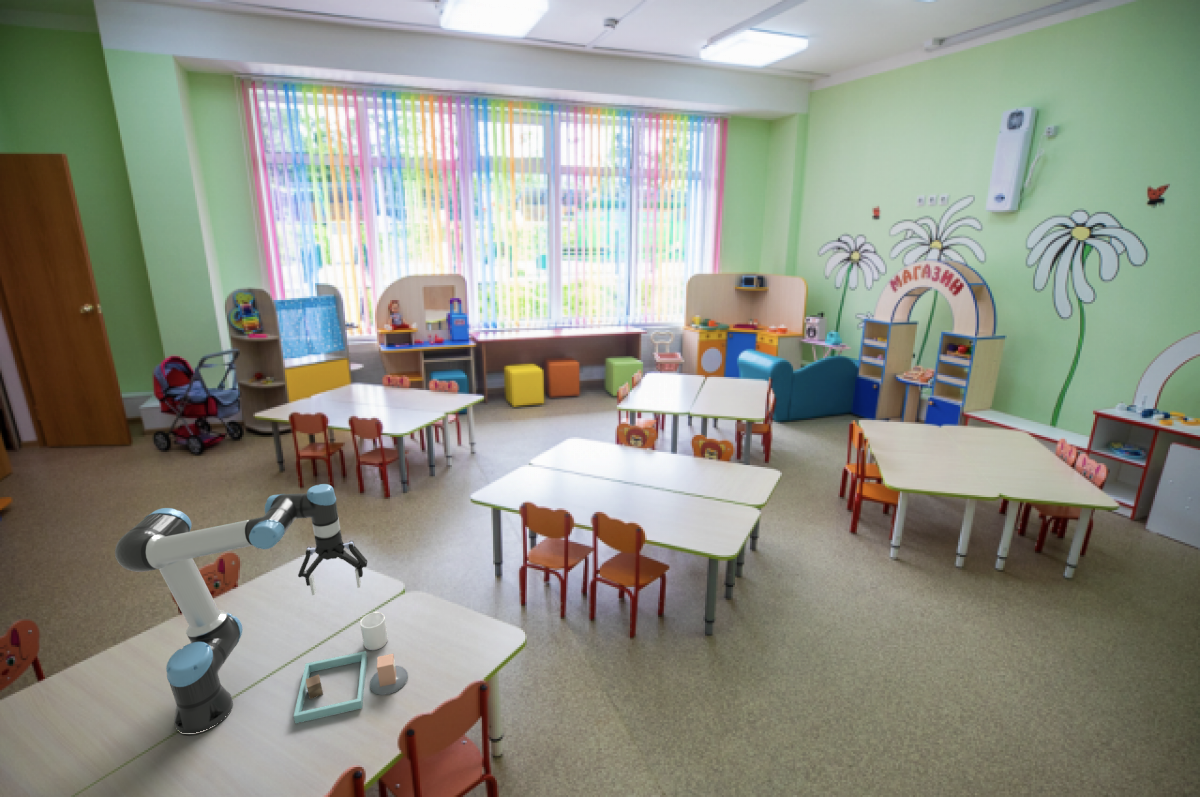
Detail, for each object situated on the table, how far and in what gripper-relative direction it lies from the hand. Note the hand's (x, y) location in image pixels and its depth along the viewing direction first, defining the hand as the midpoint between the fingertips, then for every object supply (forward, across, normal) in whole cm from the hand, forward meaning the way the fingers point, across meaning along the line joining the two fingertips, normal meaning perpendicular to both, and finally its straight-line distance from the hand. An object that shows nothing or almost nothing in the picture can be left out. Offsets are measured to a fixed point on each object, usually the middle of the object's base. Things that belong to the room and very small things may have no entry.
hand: (336, 588), depth 186 cm
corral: (+34, +4, +7) cm, 35 cm away
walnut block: (+34, +10, +7) cm, 36 cm away
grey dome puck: (+34, -13, +8) cm, 37 cm away
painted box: (+33, -13, +8) cm, 36 cm away
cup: (+34, -8, -14) cm, 37 cm away
